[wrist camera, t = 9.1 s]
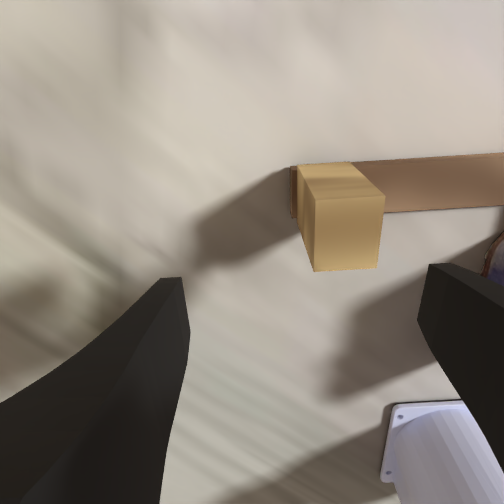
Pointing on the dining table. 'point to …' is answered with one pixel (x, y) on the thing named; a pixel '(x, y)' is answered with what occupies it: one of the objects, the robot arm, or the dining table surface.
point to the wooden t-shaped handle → (382, 200)
